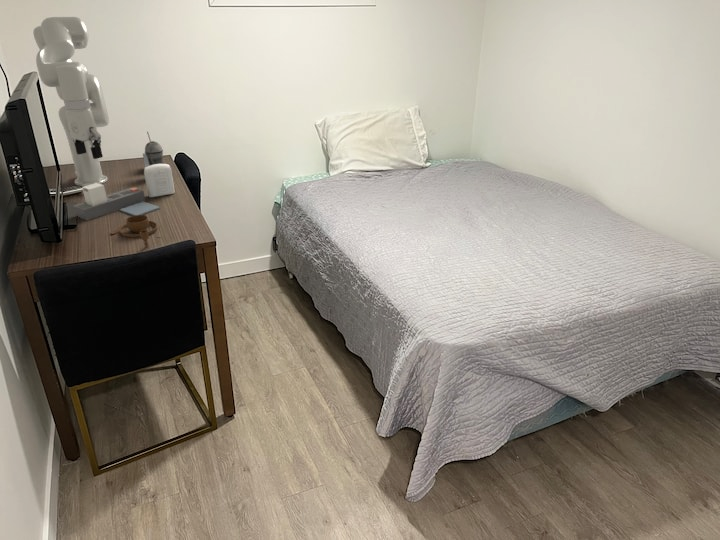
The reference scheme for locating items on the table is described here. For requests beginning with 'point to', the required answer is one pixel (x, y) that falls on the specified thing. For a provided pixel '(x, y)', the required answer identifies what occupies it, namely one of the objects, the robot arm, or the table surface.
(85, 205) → the power strip
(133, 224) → the place setting
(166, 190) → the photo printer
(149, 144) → the beverage cup
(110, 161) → the table surface
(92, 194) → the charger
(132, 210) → the mat
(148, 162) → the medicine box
